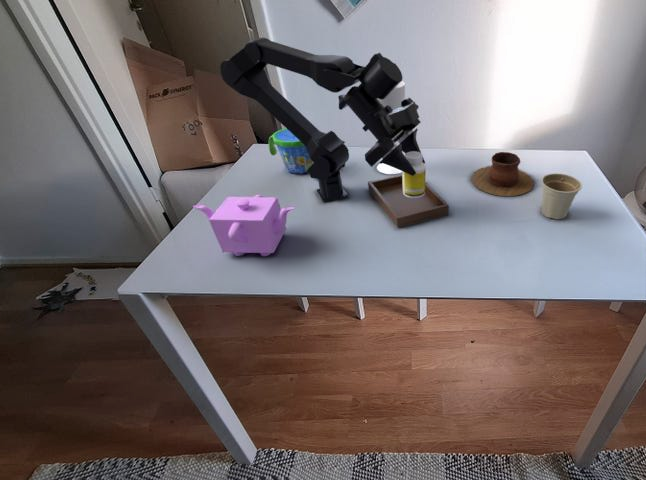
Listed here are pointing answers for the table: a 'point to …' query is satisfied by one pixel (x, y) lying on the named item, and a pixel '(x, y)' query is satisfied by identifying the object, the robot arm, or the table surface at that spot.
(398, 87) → the wineglass
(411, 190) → the supplement bottle
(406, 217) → the tray
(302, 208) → the table surface
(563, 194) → the flower pot
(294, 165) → the snack cup
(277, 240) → the teapot
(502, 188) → the ceramic pot
